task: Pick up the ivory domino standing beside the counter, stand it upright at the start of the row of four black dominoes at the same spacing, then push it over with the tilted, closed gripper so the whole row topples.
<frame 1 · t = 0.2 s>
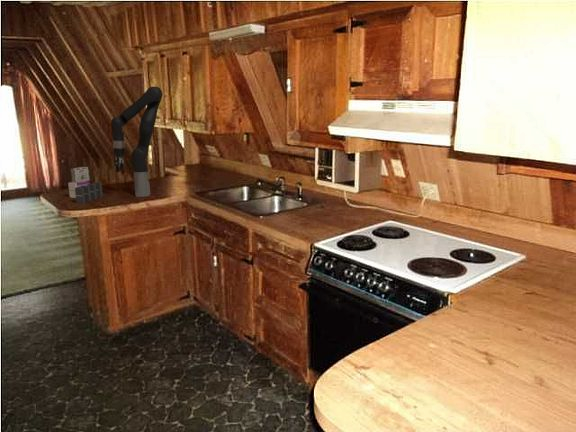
hand: (119, 170, 313), 17 cm above the worktop, tool pointing down, fingers open, 8 cm apart
ivory domino: (74, 197, 310), on the worktop
domino 4: (86, 200, 302), on the worktop
domino 2: (98, 196, 313), on the worktop
domino 3: (92, 198, 307), on the worktop
domino 5: (80, 202, 296), on the worktop
candy bar box: (82, 190, 331), on the worktop
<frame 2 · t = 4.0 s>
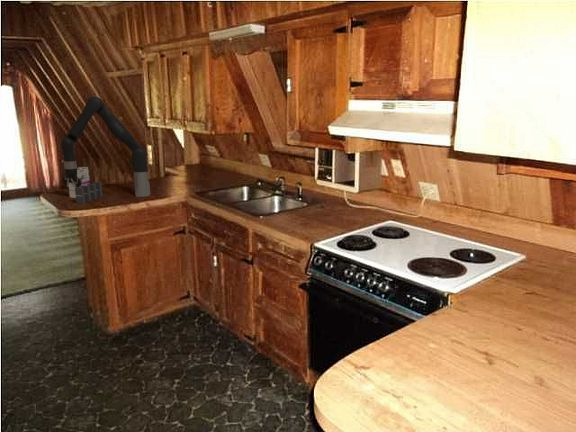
hand: (73, 192, 309), 3 cm above the worktop, tool pointing down, fingers closed on ivory domino, 5 cm apart
ivory domino: (74, 197, 310), on the worktop, touching gripper
everything else where it was.
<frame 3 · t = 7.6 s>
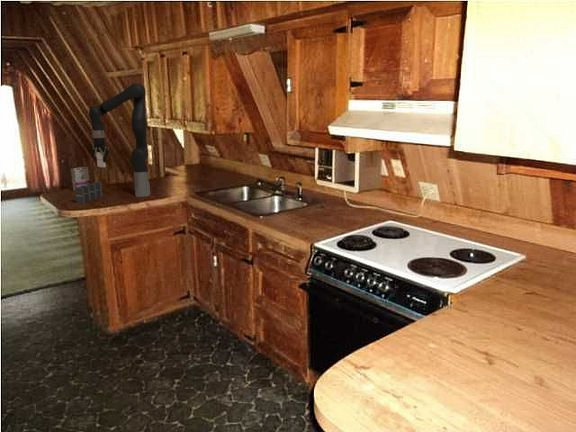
hand: (101, 161, 312), 23 cm above the worktop, tool pointing down, fingers closed on ivory domino, 5 cm apart
ivory domino: (101, 166, 313), point 20 cm above the worktop, touching gripper
everything else where it was.
when the fingers open (4 cm above the worktop, at t = 11.5 s): ivory domino stays where it is, on the worktop.
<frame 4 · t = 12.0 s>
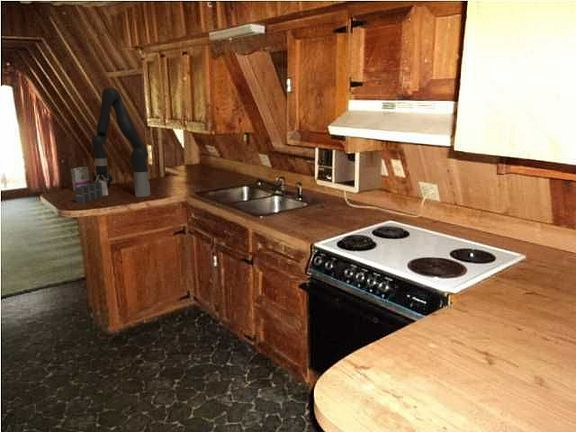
hand: (103, 187, 317), 5 cm above the worktop, tool pointing down, fingers open, 8 cm apart
ivory domino: (104, 194, 318), on the worktop
everything else where it was.
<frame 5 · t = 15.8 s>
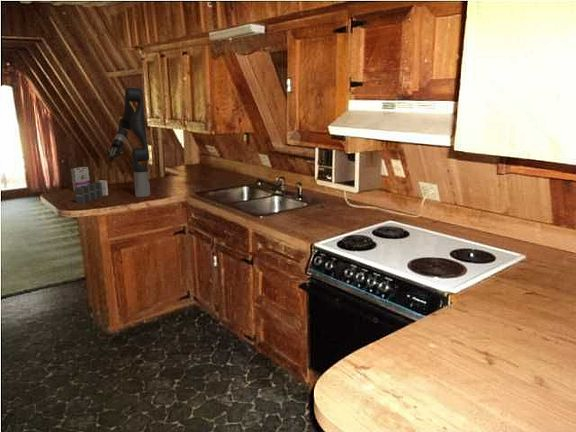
hand: (110, 161, 322), 22 cm above the worktop, tool tilted 45°, fingers closed
nothing on the worktop moved.
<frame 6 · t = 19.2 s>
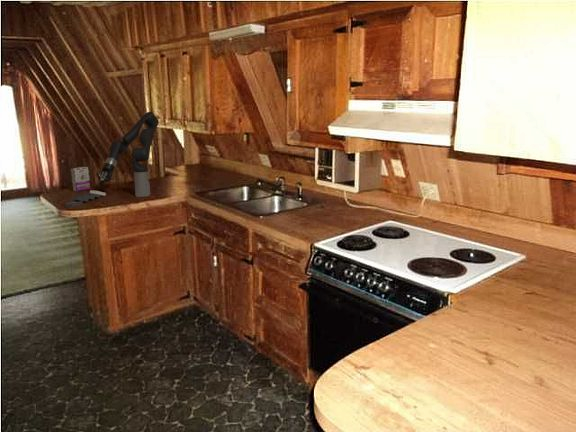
hand: (100, 186, 314), 7 cm above the worktop, tool tilted 45°, fingers closed
ivory domino: (102, 194, 316), point 1 cm above the worktop, tilted 70°, touching domino 2
domino 4: (85, 199, 300), point 1 cm above the worktop, tilted 71°, touching domino 3, domino 5
domino 2: (97, 195, 311), point 1 cm above the worktop, tilted 71°, touching domino 3, ivory domino
domino 3: (91, 197, 305), point 1 cm above the worktop, tilted 70°, touching domino 2, domino 4
domino 5: (79, 202, 295), point 1 cm above the worktop, tilted 89°, touching domino 4
everything else where it was.
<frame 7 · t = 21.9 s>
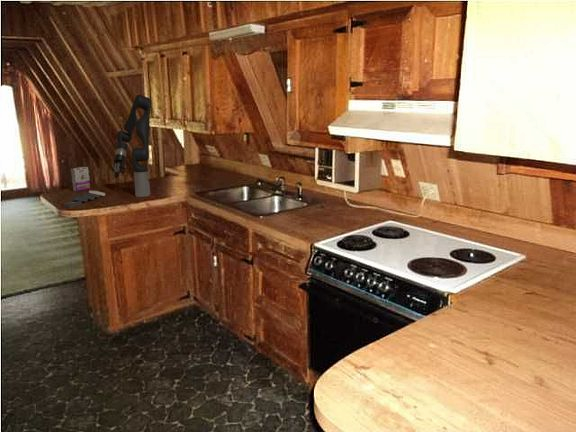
hand: (116, 177, 326), 10 cm above the worktop, tool tilted 40°, fingers closed
domino 3: (91, 198, 305), point 1 cm above the worktop, tilted 70°, touching domino 2, domino 4
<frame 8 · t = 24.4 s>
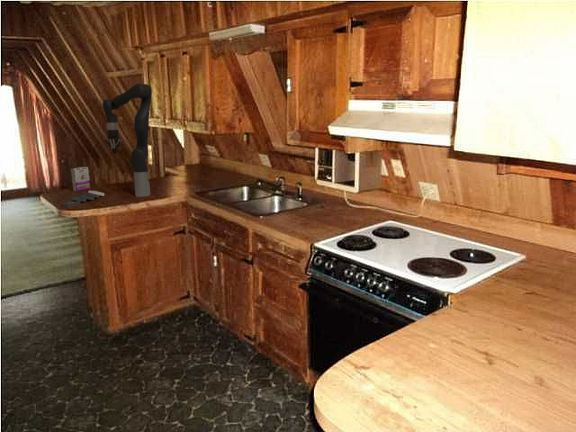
hand: (114, 153, 324), 27 cm above the worktop, tool pointing down, fingers closed
at the end: domino 5 tilted 89°; ivory domino tilted 69°; ivory domino 5.7 cm from the domino 2 (horizontally) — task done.
